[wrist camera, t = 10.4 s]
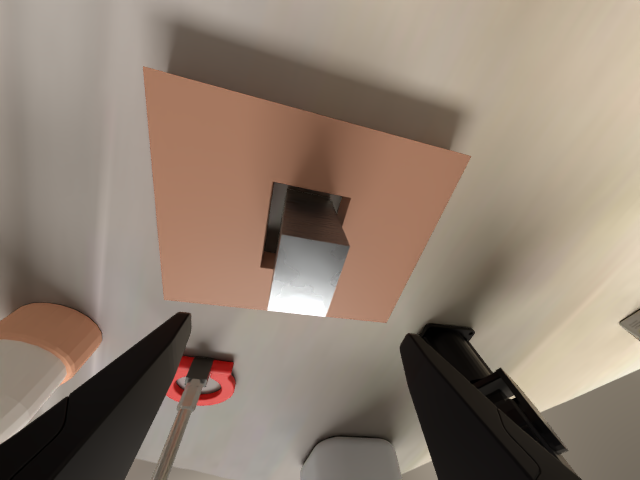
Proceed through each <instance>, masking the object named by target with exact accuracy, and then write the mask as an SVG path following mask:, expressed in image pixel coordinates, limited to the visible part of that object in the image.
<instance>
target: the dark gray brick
mask: <svg viewBox="0 0 640 480" xmlns="http://www.w3.org/2000/svg"><path fill="white" fill-rule="evenodd" d="M349 248H350V245H349V242H348V240H347V238H346V235H345V233H344V230H343V228H342V226H341V223H340V221H339V218H338V216H337V213H336V211H335V209H334V206H333V204H332V201H331V199H330V197H325V196H320V195H316V194H311V193H306V192H302V191H297V190H292V189H287V192H286V198H285V203H284V209H283V214H282V220H281V225H280V231H279V236H278V241H277V248H276V255H275V261H274V268H273V275H272V282H271V289H270V295H269V302H268V309H267V310H268V311H277V312H286V313H295V314H305V315H314V316H323V317H326V314H327V312H328V309H329V306H330V303H331V300H332V297H333V294H334V291H335V289H336V286H337V283H338V280H339V277H340V274H341V271H342V268H343V265H344V263H345V260H346V257H347V254H348V251H349Z"/></svg>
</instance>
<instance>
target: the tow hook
mask: <svg viewBox="0 0 640 480" xmlns="http://www.w3.org/2000/svg"><path fill="white" fill-rule="evenodd" d="M233 364H234V362H227V361H219V360H214V359H212V358H204V357H197V356H196V357H188V356H182V358H181V361H180V364H179V366H178V369H177V372H176V374H175V377H174V379H173V381H172V383H171V385H170V387H169V389H168V392H167V394H166V395H167V396H168V397H169V398H171V399H173V400H175V401H178V402H179V404H178V406H177V411H178V413H177V415H176V418H175V420H174V423H173V425H172V428H171V430H170V433H169V435H168V438H167V440H166V443H165V445H164V448H163V450H162V453H161V455H160V458H159V460H158V463H157V465H156V468H155V471H154V473H153V475H152V478H151V480H167V479H168V476H169V473H170V471H171V468H172V465H173V462H174V460H175V457H176V454H177V451H178V448H179V446H180V443H181V440H182V437H183V434H184V432H185V429H186V426H187V423H188V420H189V417H190V415H191V413H192V412H193V411H194V410H195V408H196V405H199V406H204V405H213V404H218V403H221V402H223V401H225V400H227V399H228V398H230V397H231V396H232V394H233V393H234V389H235V384H236V383H235V379H234V377H233V376H232V375H231V372H232V368H233ZM210 374H211V376H210ZM185 376H186V379H185V385H186V386H185V389H184V390H183V389H182V388H180V387H179V386H178V385H177V383H176V380H178V379H179V378H182V377H185ZM209 376H210V377H211V378H212V379H214V380H215V381H217V382H218V383H219V384H220V385H221V387H222V388H221V389H220V390H218V391H216V392H214V393H209V394H201V390H202V388H203V387H206V384H207V381H208V378H209Z"/></svg>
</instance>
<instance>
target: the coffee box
mask: <svg viewBox="0 0 640 480" xmlns="http://www.w3.org/2000/svg"><path fill="white" fill-rule="evenodd" d="M620 326H622V327H623V328H624V329H625V330H627V331H628V332H629V333H630V334H632V335H633V336H634V337H635V338H636V339H638V340H639V341H640V310H639V311H638V312H636V313H634V314H633V315H631V316H630V317H628V318H626V319H625V320H623V321H621V322H620Z"/></svg>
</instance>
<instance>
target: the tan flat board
mask: <svg viewBox="0 0 640 480" xmlns="http://www.w3.org/2000/svg"><path fill="white" fill-rule="evenodd" d="M143 73H144V84H145V95H146V106H147V117H148V128H149V139H150V150H151V161H152V172H153V183H154V194H155V205H156V216H157V227H158V238H159V250H160V261H161V272H162V283H163V294H164V300H171V301H181V302H191V303H200V304H210V305H219V306H229V307H239V308H248V309H258V310H267V309H268V302H269V295H270V289H271V282H272V275H273V268H274V261H275V255H276V253H271V252H265V251H264V248H265V241H266V234H267V228H268V221H269V214H270V207H271V200H272V194H273V187H274V182H277V183H282V184H287V185H292V186H296V187H301V188H306V189H311V190H315V191H320V192H325V193H330V194H335V195H339V196H342V199H341V202H340V206H339V209H338V213H337V216H338V218H339V221H340V223H341V226H342V228H343V230H344V233H345V235H346V238H347V240H348V242H349V245H350V248H349V251H348V254H347V257H346V260H345V263H344V265H343V268H342V271H341V274H340V277H339V280H338V283H337V286H336V289H335V291H334V294H333V297H332V300H331V303H330V306H329V309H328V312H327V314H326V317H335V318H345V319H354V320H364V321H373V322H383V323H387V321H388V319H389V317H390V315H391V313H392V311H393V309H394V307H395V305H396V303H397V301H398V299H399V297H400V295H401V293H402V291H403V289H404V287H405V285H406V283H407V281H408V279H409V277H410V276H411V274H412V272H413V270H414V268H415V266H416V264H417V262H418V260H419V258H420V256H421V254H422V252H423V250H424V248H425V246H426V244H427V242H428V240H429V238H430V236H431V234H432V232H433V230H434V228H435V226H436V225H437V223H438V221H439V219H440V217H441V215H442V213H443V211H444V209H445V207H446V205H447V203H448V201H449V199H450V197H451V195H452V193H453V191H454V189H455V187H456V185H457V183H458V181H459V179H460V177H461V175H462V174H463V172H464V170H465V168H466V166H467V164H468V162H469V160H470V158H471V156H468V155H465V154H461V153H458V152H454V151H450V150H447V149H443V148H439V147H436V146H432V145H428V144H425V143H421V142H417V141H414V140H410V139H407V138H403V137H399V136H396V135H392V134H388V133H385V132H381V131H377V130H374V129H370V128H366V127H363V126H359V125H355V124H352V123H348V122H345V121H341V120H337V119H334V118H330V117H326V116H323V115H319V114H315V113H312V112H308V111H304V110H301V109H297V108H293V107H290V106H286V105H283V104H279V103H275V102H272V101H268V100H264V99H261V98H257V97H253V96H250V95H246V94H242V93H239V92H235V91H231V90H228V89H224V88H221V87H217V86H213V85H210V84H206V83H202V82H199V81H195V80H191V79H188V78H184V77H180V76H177V75H173V74H170V73H166V72H162V71H159V70H155V69H151V68H148V67H144V66H143Z"/></svg>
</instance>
